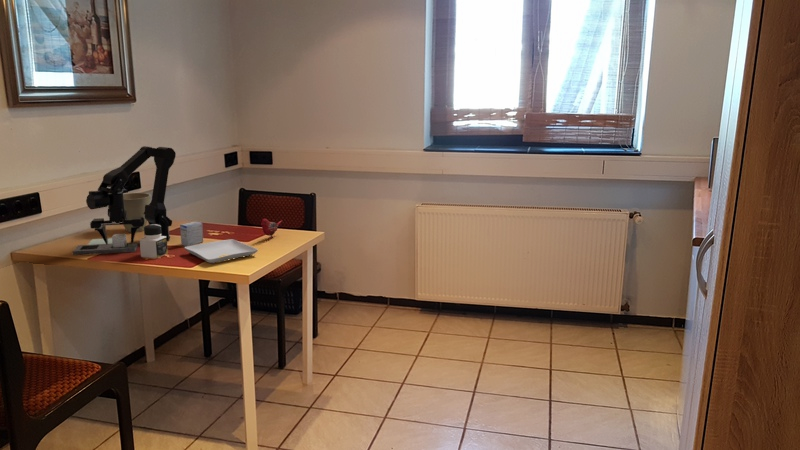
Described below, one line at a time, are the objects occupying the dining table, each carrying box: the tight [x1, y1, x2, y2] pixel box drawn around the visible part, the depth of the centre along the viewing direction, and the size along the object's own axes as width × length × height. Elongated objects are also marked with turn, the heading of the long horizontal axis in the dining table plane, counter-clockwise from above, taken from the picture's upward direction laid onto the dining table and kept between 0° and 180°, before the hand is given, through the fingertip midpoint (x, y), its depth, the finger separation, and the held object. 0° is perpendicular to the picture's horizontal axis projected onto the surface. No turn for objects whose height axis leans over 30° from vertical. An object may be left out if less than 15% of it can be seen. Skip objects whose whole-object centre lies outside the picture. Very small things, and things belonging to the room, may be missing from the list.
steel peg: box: [111, 233, 128, 248], centre depth 234 cm, size 4×4×6 cm
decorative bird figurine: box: [260, 218, 283, 241], centre depth 256 cm, size 3×18×10 cm, turn 161°
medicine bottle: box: [139, 224, 169, 259], centre depth 227 cm, size 7×7×12 cm
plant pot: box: [121, 192, 151, 233], centre depth 263 cm, size 15×15×16 cm
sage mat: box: [87, 237, 112, 245], centre depth 244 cm, size 13×10×1 cm
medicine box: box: [179, 221, 204, 247], centre depth 245 cm, size 8×4×9 cm, turn 149°
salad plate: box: [183, 238, 259, 264], centre depth 230 cm, size 21×21×3 cm
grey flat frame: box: [72, 241, 139, 256], centre depth 234 cm, size 22×9×2 cm, turn 106°
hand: (119, 243), depth 235 cm, fingers open, 9 cm apart
